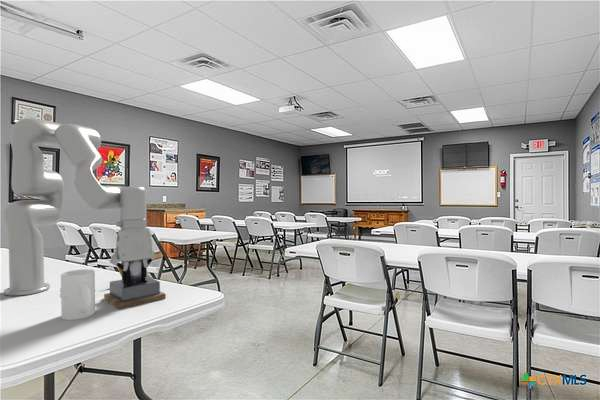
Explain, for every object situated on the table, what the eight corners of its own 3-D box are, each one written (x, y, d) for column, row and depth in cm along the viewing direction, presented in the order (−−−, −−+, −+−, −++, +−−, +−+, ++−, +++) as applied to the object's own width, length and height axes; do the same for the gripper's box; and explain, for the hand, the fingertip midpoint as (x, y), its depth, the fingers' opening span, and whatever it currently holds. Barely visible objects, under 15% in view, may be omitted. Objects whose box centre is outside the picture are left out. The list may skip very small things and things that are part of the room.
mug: (69, 326, 89) (68, 280, 88) (57, 315, 97) (56, 272, 96) (104, 317, 95) (103, 274, 94) (90, 308, 103) (89, 268, 102)
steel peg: (125, 284, 112) (124, 257, 111) (139, 282, 115) (138, 255, 114) (130, 287, 108) (129, 258, 108) (144, 284, 112) (143, 257, 111)
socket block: (109, 294, 112) (109, 281, 111) (145, 287, 120) (145, 275, 120) (122, 301, 104) (122, 288, 103) (159, 293, 112) (159, 281, 112)
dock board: (104, 298, 112) (104, 294, 112) (148, 289, 122) (148, 285, 122) (119, 309, 102) (119, 303, 102) (165, 298, 112) (165, 293, 112)
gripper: (108, 227, 102) (109, 288, 103) (164, 223, 114) (165, 278, 115) (101, 225, 108) (102, 284, 108) (155, 222, 120) (155, 274, 120)
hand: (134, 280), depth 112 cm, fingers closed on steel peg, 4 cm apart
